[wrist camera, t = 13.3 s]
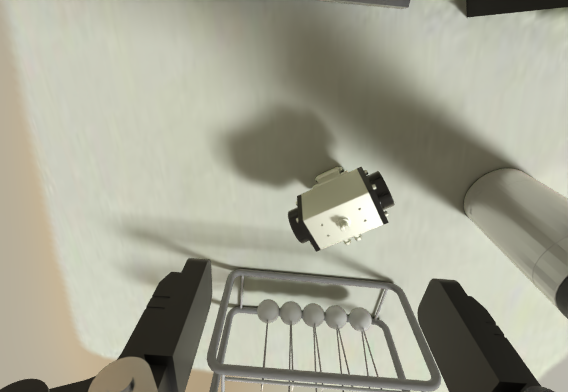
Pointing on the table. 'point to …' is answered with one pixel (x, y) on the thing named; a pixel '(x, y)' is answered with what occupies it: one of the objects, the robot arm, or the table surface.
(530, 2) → the game console
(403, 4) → the grey compartment tray
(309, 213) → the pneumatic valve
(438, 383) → the newton's cradle
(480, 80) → the table surface
